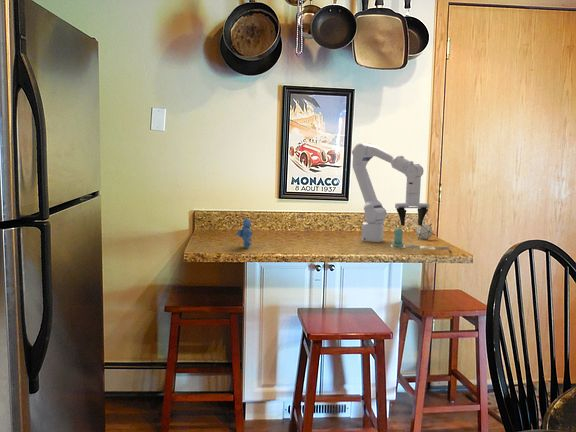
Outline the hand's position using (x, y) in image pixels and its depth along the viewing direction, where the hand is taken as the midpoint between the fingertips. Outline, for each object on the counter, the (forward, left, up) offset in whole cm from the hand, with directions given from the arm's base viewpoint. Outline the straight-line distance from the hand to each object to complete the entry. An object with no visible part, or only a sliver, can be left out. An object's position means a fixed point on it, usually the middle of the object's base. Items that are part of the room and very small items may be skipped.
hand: (411, 225), depth 224 cm
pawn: (-5, -3, -9) cm, 10 cm away
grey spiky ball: (+7, +20, -10) cm, 23 cm away
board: (+4, -3, -10) cm, 11 cm away
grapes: (-67, -19, -10) cm, 71 cm away
